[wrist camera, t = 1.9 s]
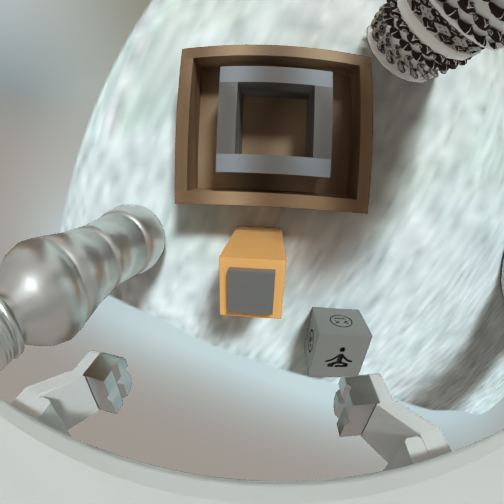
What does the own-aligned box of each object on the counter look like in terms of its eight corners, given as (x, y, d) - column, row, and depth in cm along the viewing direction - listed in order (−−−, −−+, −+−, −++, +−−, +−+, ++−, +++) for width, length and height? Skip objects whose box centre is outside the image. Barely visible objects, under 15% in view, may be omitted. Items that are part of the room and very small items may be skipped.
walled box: (357, 71, 20) (375, 52, 15) (353, 206, 24) (372, 216, 19) (194, 64, 21) (177, 43, 16) (189, 197, 25) (169, 206, 20)
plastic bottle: (166, 271, 27) (40, 417, 8) (110, 253, 27) (-34, 356, 8) (177, 209, 25) (4, 308, 6) (117, 194, 25) (-61, 254, 6)
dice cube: (304, 346, 29) (308, 376, 24) (312, 306, 27) (319, 334, 23) (347, 348, 29) (357, 377, 24) (358, 309, 27) (372, 335, 23)
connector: (281, 228, 25) (286, 263, 16) (278, 270, 27) (281, 323, 17) (237, 226, 26) (217, 260, 16) (236, 267, 27) (218, 319, 18)
